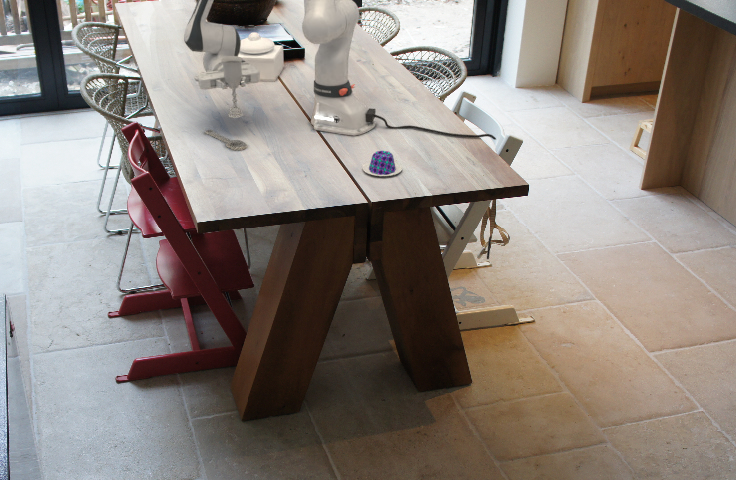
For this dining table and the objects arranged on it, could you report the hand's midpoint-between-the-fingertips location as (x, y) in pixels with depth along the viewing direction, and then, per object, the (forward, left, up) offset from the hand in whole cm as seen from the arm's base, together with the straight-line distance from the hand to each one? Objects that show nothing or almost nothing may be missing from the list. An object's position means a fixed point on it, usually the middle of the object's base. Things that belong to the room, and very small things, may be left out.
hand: (234, 85), depth 271 cm
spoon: (+1, +5, -17) cm, 18 cm away
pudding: (-54, -3, -17) cm, 57 cm away
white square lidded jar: (+37, -56, -17) cm, 69 cm away
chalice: (+1, -1, -10) cm, 10 cm away
